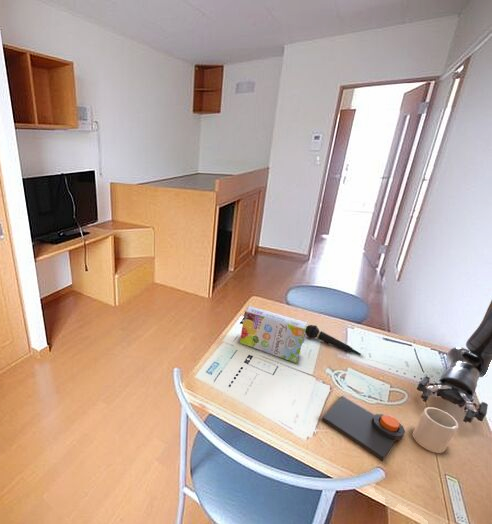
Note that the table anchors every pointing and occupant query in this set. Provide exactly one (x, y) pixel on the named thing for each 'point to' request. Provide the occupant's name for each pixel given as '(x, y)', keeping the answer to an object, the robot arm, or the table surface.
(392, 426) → the button
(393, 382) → the table surface
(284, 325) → the snack box
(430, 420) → the cup
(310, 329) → the microphone
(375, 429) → the scale
